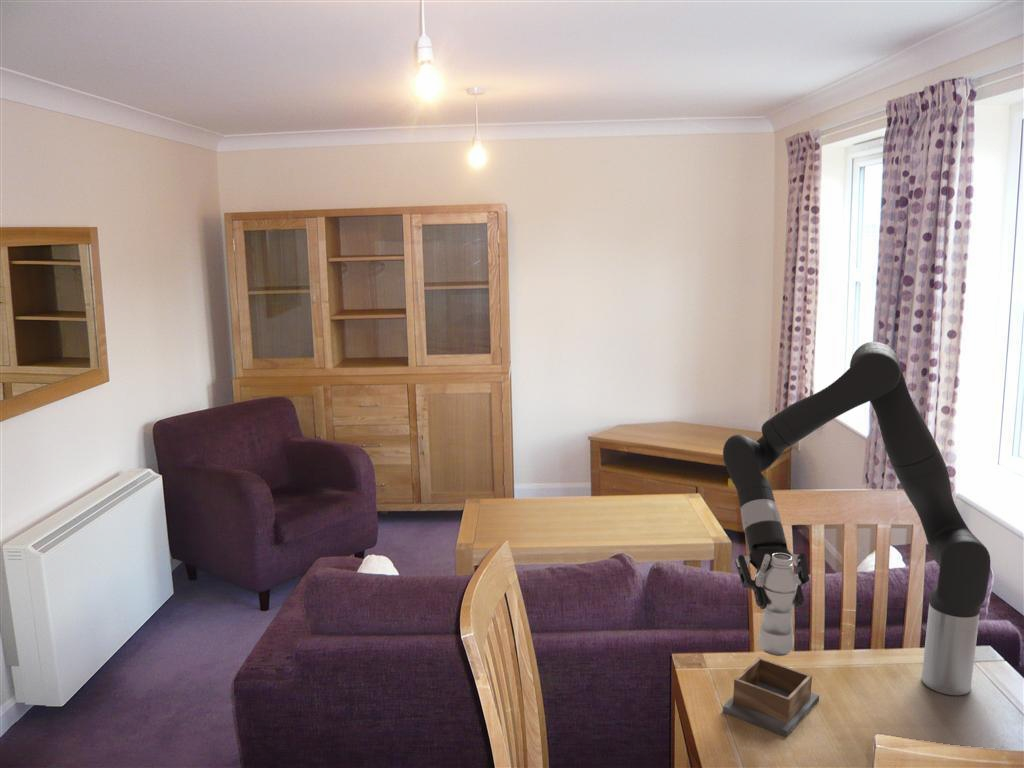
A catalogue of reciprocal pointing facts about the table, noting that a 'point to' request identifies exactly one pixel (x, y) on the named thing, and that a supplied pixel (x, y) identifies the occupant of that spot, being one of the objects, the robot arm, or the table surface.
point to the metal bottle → (778, 606)
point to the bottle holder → (772, 696)
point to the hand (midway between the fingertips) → (781, 606)
